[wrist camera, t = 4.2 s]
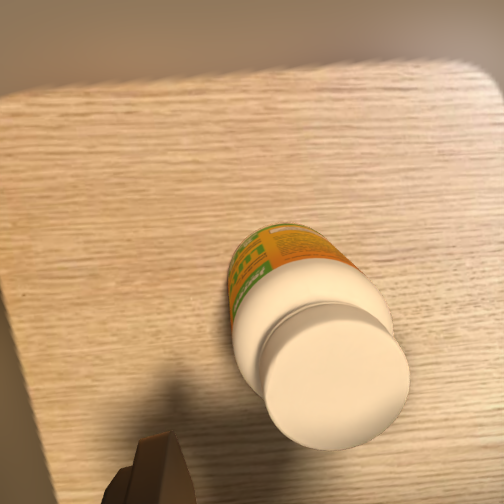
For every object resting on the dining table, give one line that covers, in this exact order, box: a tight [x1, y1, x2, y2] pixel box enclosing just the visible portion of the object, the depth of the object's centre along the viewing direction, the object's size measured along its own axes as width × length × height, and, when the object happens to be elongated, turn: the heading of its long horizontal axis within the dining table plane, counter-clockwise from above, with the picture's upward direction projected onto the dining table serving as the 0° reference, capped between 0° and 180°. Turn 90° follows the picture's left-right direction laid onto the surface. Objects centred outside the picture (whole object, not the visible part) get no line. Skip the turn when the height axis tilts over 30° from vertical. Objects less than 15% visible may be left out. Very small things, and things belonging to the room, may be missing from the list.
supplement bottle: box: [228, 222, 410, 451], centre depth 16 cm, size 5×5×10 cm
